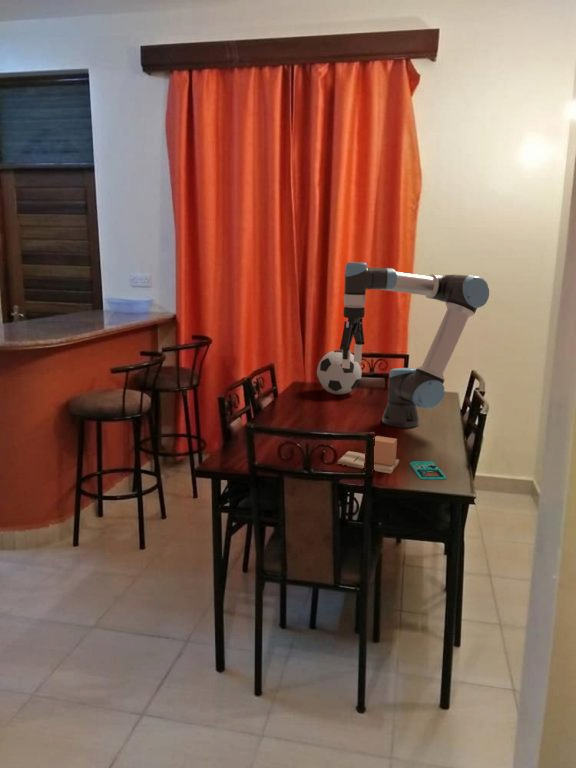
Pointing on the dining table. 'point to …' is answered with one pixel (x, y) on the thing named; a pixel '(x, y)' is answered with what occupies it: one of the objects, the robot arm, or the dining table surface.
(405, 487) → the dining table surface
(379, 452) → the block
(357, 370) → the soccer ball
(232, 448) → the dining table surface
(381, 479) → the dining table surface
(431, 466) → the handheld gaming console
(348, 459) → the board
